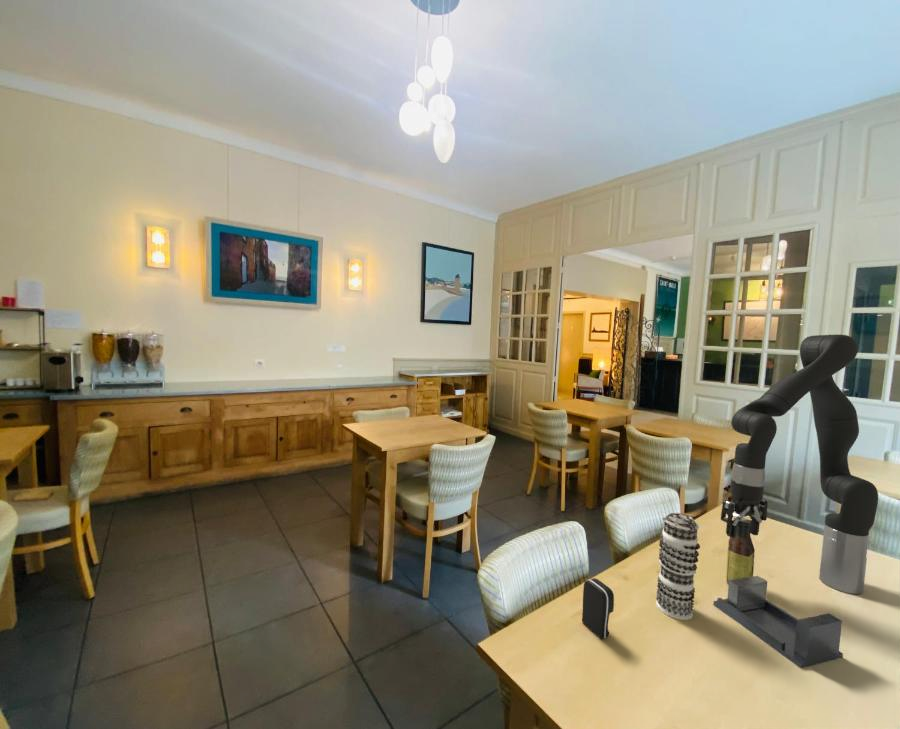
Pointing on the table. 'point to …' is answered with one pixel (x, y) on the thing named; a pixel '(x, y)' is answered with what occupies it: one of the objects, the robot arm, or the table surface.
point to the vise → (791, 632)
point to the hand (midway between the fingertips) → (742, 535)
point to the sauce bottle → (740, 552)
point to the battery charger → (597, 606)
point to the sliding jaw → (747, 593)
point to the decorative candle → (677, 566)
